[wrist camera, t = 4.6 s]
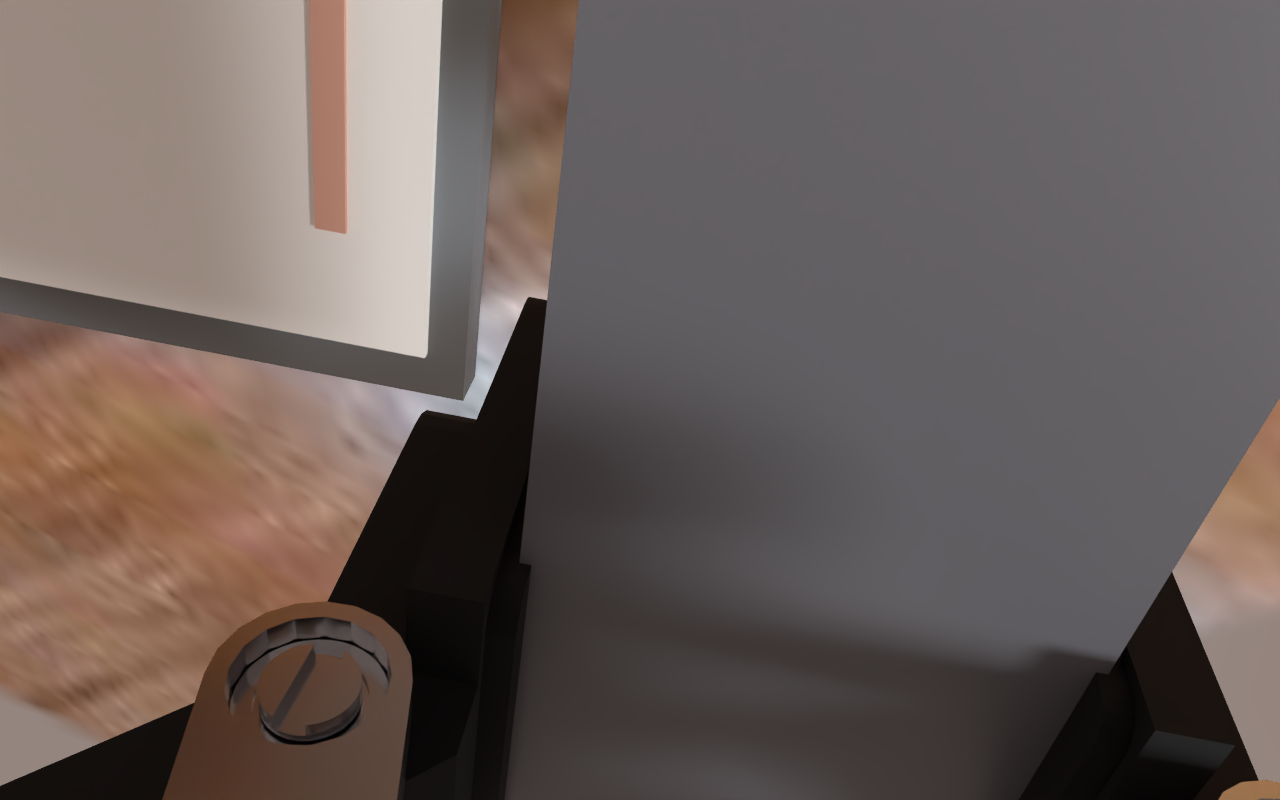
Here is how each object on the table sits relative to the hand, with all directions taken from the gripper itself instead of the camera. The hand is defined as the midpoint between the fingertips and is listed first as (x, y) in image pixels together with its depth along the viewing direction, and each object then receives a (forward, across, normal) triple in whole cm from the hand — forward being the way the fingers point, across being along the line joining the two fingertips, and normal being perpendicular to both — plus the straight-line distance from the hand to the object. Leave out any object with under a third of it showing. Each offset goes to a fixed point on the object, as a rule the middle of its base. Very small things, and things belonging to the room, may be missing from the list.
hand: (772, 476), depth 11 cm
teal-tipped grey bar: (+1, 0, 0) cm, 1 cm away
